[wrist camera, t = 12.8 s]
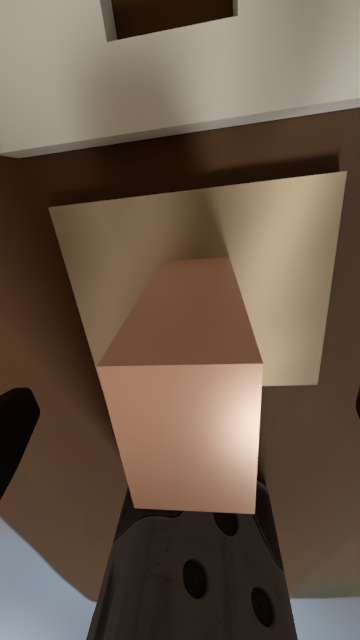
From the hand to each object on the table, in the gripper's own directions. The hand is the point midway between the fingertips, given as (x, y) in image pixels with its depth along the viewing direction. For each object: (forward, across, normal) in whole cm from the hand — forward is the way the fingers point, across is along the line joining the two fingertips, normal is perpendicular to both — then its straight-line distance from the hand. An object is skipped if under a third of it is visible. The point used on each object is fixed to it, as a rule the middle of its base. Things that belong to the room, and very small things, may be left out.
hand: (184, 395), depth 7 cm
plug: (+6, 0, 0) cm, 6 cm away
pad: (+7, 0, 0) cm, 7 cm away
